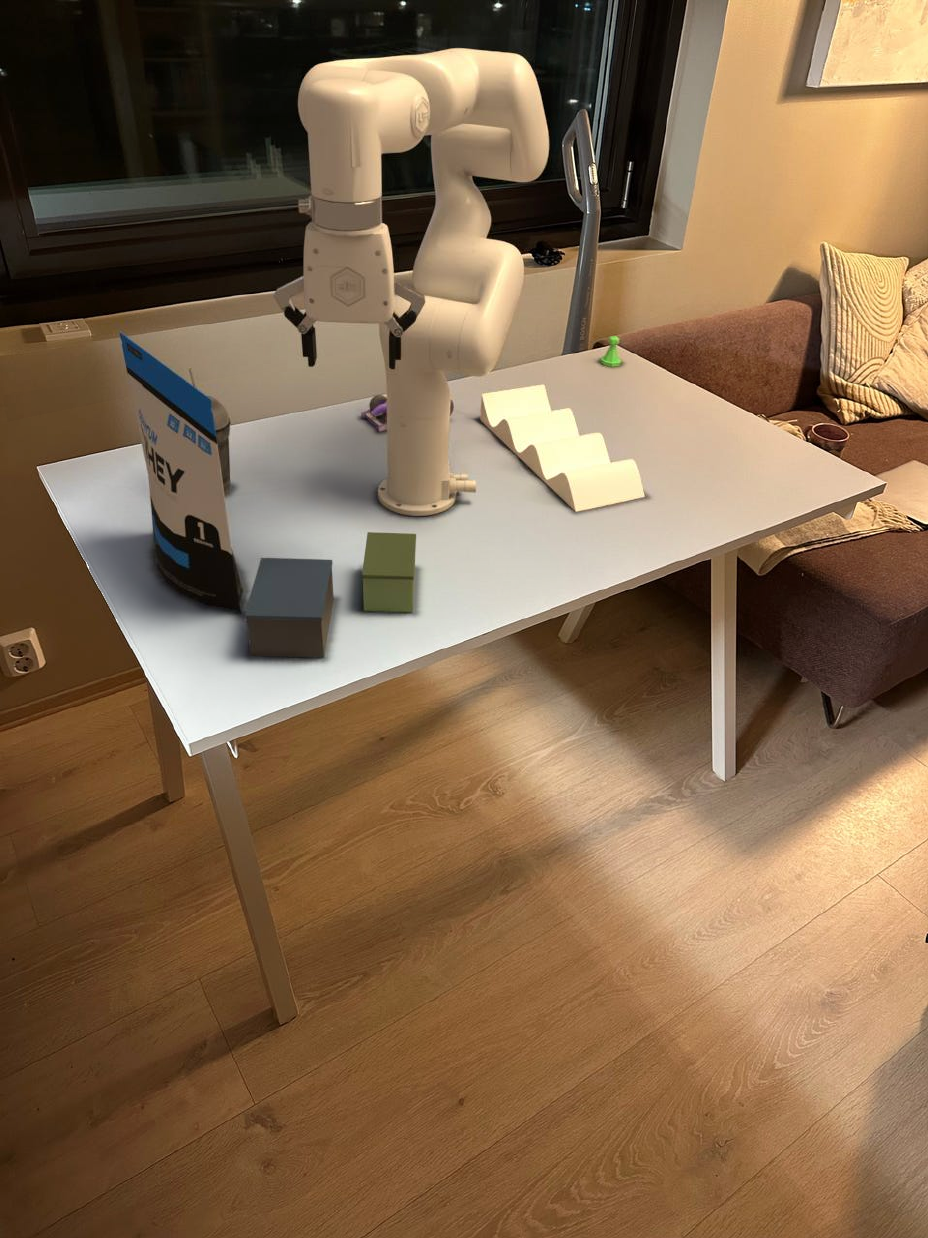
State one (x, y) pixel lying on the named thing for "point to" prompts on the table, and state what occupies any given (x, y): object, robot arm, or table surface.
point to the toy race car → (382, 411)
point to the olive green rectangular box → (389, 572)
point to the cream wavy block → (559, 449)
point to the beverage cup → (220, 436)
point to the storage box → (290, 607)
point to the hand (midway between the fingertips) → (352, 363)
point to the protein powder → (183, 482)
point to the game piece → (611, 353)
